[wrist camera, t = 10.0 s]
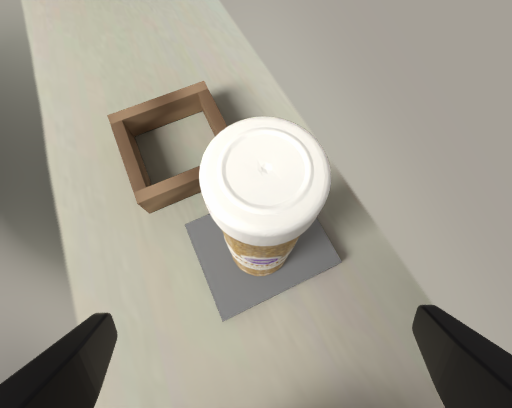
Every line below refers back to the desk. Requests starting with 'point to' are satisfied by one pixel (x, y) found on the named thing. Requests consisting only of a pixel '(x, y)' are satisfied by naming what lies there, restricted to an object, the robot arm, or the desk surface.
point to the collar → (153, 117)
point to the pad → (249, 286)
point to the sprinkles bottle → (264, 188)
